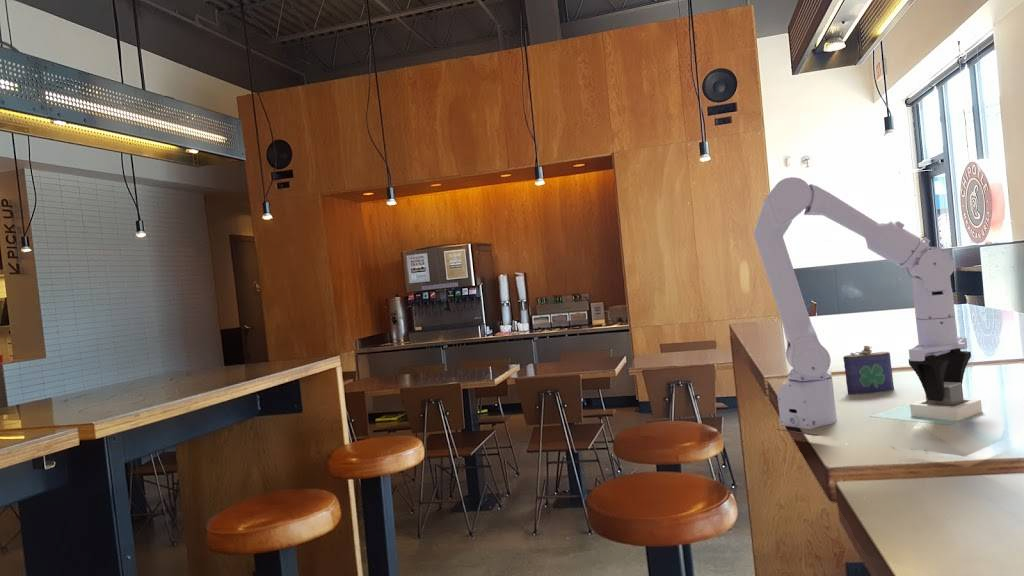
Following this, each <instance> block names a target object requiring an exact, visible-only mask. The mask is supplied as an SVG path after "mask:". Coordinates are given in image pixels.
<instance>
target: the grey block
mask: <svg viewBox="0 0 1024 576" xmlns="http://www.w3.org/2000/svg"><path fill="white" fill-rule="evenodd" d="M963 390H964V389H963V383H962V384H961V383H958V382H944V396H943V401H931V400H928V398H927V396H926V393H925V392H924V394H925V399H926V403H927V404H928V405H939V406H951V407H954V406H957V405H960V404H963V403H964V399H965V398H964V391H963Z"/></svg>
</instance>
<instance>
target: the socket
mask: <svg viewBox="0 0 1024 576" xmlns="http://www.w3.org/2000/svg"><path fill="white" fill-rule="evenodd" d="M909 405H910V410H911V416H917V417H926V418H936V419H946V420H956V421H957V422H960V421H962V419H963V420H965V419H967V417H968V418H971V417H973V416H975V414H976V415H978V414H980V412H981V413H983V412H982V411H983V406H982V400H981V399H977V398H976V399H973V398H964V403H963V404H960V405H957V406H954V407H951V406H939V405H928V404H927V403H926V398H925V399H922V400H918V401H916V402H913V403H910V404H909ZM977 413H978V414H977ZM972 415H973V416H972ZM964 418H965V419H964ZM959 420H960V421H959Z"/></svg>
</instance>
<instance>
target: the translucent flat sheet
mask: <svg viewBox="0 0 1024 576" xmlns="http://www.w3.org/2000/svg"><path fill="white" fill-rule="evenodd" d="M980 413H983V410H982V412H980ZM980 413H977V414H975V415H978V414H980ZM975 415H972V416H971V417H973V416H975ZM869 417H871V418H881V419H886V420H887V419H889V420H900V421H907V422H915V423H927V424H935V425H936V424H937V425H943V426H949V425H952V424H954V423H957V422H960V421H962V420H965V419H967V418H969V417H967V418H964V419H962V420H959V421H956V420H946V419H936V418H926V417H917V416H911V410H910V404H904V405H900V406H897V407H893V408H889V410H888V409H887V410H885V411H882V412H879V413H876V414H873V415H870V416H869Z"/></svg>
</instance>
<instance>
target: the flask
mask: <svg viewBox="0 0 1024 576" xmlns="http://www.w3.org/2000/svg"><path fill="white" fill-rule="evenodd" d="M863 347H864V348H863V350H861V351H859V352H858V351H856V352H855V353H853V352H850V354H848V355H843V365H844V374H845V379H846V380H845V381H846V389H847V394H848V395H861V394H863V395H864V394H871V393H872V394H874V393H881V392H889V391H890V392H891V391H894V390H895V386H894V377H893V368H892V361H891V353H890V352H889V351H878V352H873V350H872V348H873V347H872V346H870V345H863Z"/></svg>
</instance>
